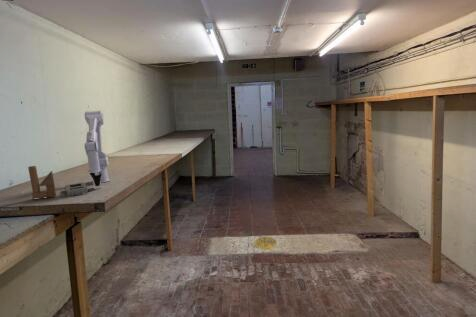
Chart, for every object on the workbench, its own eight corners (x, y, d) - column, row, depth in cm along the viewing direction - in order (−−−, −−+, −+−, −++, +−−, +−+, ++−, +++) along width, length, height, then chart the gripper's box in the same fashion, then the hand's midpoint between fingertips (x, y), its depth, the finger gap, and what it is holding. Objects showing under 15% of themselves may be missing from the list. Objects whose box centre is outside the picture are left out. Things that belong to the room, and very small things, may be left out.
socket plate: (66, 190, 196) (65, 185, 195) (84, 186, 200) (83, 182, 200) (68, 196, 182) (67, 191, 181) (88, 193, 187) (87, 188, 186)
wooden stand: (55, 197, 183) (49, 165, 179) (32, 200, 180) (26, 167, 176) (56, 195, 186) (51, 163, 183) (34, 198, 183) (28, 166, 180)
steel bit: (93, 188, 197) (91, 176, 196) (100, 186, 199) (99, 175, 198) (94, 189, 194) (92, 177, 192) (101, 188, 196) (100, 176, 194)
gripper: (84, 161, 197) (88, 183, 200) (87, 165, 185) (91, 189, 188) (97, 159, 201) (100, 181, 203) (101, 163, 188) (104, 186, 191)
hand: (97, 185), depth 196 cm, fingers closed on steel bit, 4 cm apart
